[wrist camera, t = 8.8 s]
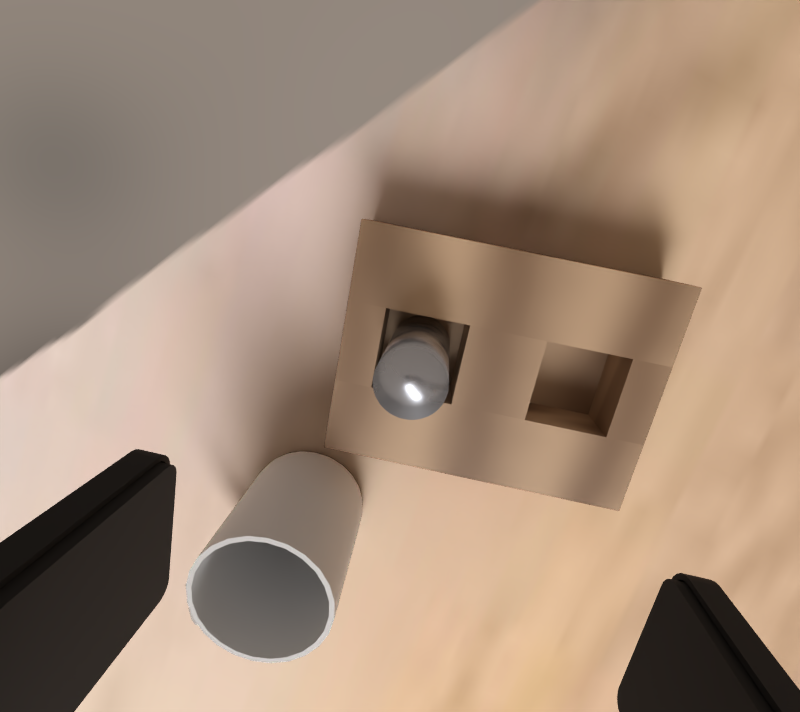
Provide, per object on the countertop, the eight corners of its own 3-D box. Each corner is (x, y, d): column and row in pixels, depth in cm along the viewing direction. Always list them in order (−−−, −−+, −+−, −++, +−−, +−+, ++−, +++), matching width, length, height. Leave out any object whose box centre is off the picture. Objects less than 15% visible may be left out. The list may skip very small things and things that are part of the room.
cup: (386, 514, 31) (365, 625, 22) (269, 579, 33) (208, 704, 24) (320, 427, 29) (271, 509, 21) (203, 501, 32) (114, 603, 23)
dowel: (454, 321, 26) (456, 355, 19) (443, 375, 27) (440, 426, 20) (397, 310, 26) (379, 340, 19) (388, 364, 27) (367, 411, 20)
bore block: (662, 278, 25) (701, 287, 22) (594, 473, 29) (619, 511, 25) (373, 220, 26) (361, 218, 22) (339, 418, 29) (324, 447, 25)
